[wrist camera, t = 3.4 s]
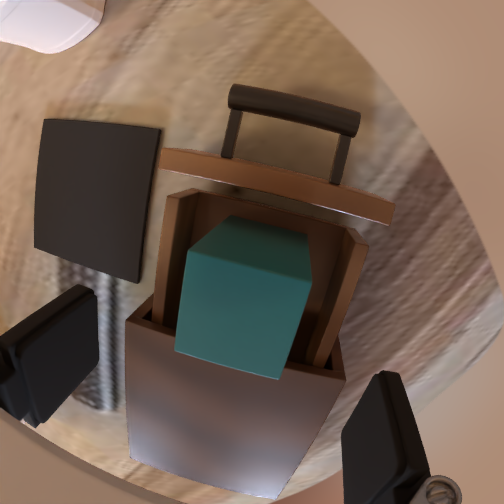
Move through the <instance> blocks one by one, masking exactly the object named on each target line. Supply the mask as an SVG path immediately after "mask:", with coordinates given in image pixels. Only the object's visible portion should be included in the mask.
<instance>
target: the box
mask: <svg viewBox="0 0 504 504" xmlns="http://www.w3.org/2000/svg"><path fill="white" fill-rule="evenodd" d="M311 286H312V274H311V264H310V254H309V245H308V236H307V234H304V233H300V232H296V231H292V230H288V229H284V228H281V227H277V226H273V225H269V224H265V223H261V222H257V221H253V220H249V219H245V218H241V217H236V216H232V215H229V216H228V217H227V218H226V219H225V220H223V221H222V222H221V223H220V224H218V225H217V226H216V227H215V228H214V229H212V230H211V231H210V232H209V233H208V234H206V235H205V236H204V237H203V238H202V239H200V240H199V241H198V242H197V243H196V244H194V245H193V246H192V247H191V248H190V249H189V250H188V252H187V258H186V265H185V271H184V278H183V285H182V292H181V299H180V306H179V313H178V321H177V329H176V337H175V346H174V350H175V351H177V352H180V353H183V354H186V355H189V356H193V357H196V358H199V359H202V360H206V361H209V362H212V363H216V364H219V365H223V366H226V367H230V368H234V369H237V370H241V371H245V372H249V373H253V374H256V375H260V376H264V377H269V378H273V379H277V380H279V379H280V377H281V375H282V372H283V369H284V366H285V363H286V361H287V358H288V355H289V352H290V349H291V346H292V344H293V341H294V338H295V335H296V332H297V329H298V326H299V323H300V320H301V317H302V314H303V311H304V308H305V305H306V302H307V299H308V295H309V292H310V289H311Z"/></svg>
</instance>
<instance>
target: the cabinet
mask: <svg viewBox="0 0 504 504" xmlns="http://www.w3.org/2000/svg"><path fill="white" fill-rule="evenodd" d="M153 300H154V293H153V294H152V295H151V296H150V297H149V298H148V299H147V300H146V301H145V302H144V303H143V304H142V305H141V306H140V307H139V308H137V309H136V310H135V311H134V312H133V313H132V315H130V316H129V317H128V318H127V319H126V321H125V390H126V413H127V428H128V441H129V452H130V458H132V459H134V460H137V461H139V462H142V463H144V464H147V465H149V466H152V467H155V468H157V469H160V470H163V471H166V472H168V473H171V474H174V475H177V476H180V477H184V478H187V479H190V480H193V481H197V482H200V483H203V484H207V485H211V486H214V487H218V488H222V489H226V490H230V491H235V492H239V493H243V494H248V495H253V496H258V497H264V498H269V499H277V497H278V496H279V494H280V493H281V491H282V490H283V488H284V487H285V486H286V484H287V483H288V481H289V480H290V478H291V476H292V475H293V473H294V472H295V470H296V469H297V467H298V466H299V464H300V462H301V461H302V459H303V458H304V456H305V454H306V453H307V451H308V449H309V448H310V446H311V444H312V443H313V441H314V439H315V437H316V436H317V434H318V432H319V431H320V429H321V427H322V425H323V423H324V422H325V420H326V418H327V416H328V414H329V413H330V411H331V409H332V407H333V405H334V403H335V401H336V399H337V397H338V396H339V394H340V392H341V390H342V388H343V386H344V384H345V382H346V377H345V371H344V365H343V359H342V354H341V348H340V342H339V337H338V335H337V337H336V340H335V342H334V345H333V347H332V350H331V352H330V354H329V357H328V359H327V361H326V364H325V366H324V368H318V367H313V366H309V365H304V364H300V363H295V362H291V361H286V363H285V366H284V369H283V372H282V375H281V377H280V379H279V380H277V379H273V378H269V377H264V376H260V375H256V374H253V373H249V372H245V371H241V370H237V369H234V368H230V367H226V366H223V365H219V364H216V363H212V362H209V361H206V360H202V359H199V358H196V357H193V356H189V355H186V354H183V353H180V352H177V351H175V350H174V346H175V337H176V330H175V329H171V328H168V327H165V326H162V325H159V324H156V323H153V322H152V311H153Z"/></svg>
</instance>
